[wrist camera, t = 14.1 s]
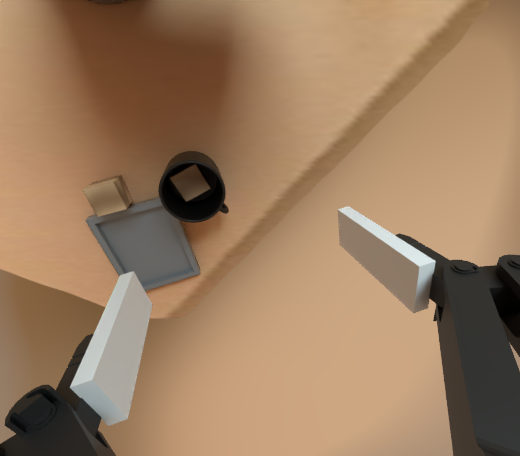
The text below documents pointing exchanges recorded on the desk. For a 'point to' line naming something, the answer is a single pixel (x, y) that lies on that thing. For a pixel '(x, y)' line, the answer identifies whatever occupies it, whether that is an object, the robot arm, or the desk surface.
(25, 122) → the desk surface
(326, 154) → the desk surface
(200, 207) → the mug
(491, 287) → the robot arm
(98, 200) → the oak block
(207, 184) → the walnut block
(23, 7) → the desk surface
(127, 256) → the tray
